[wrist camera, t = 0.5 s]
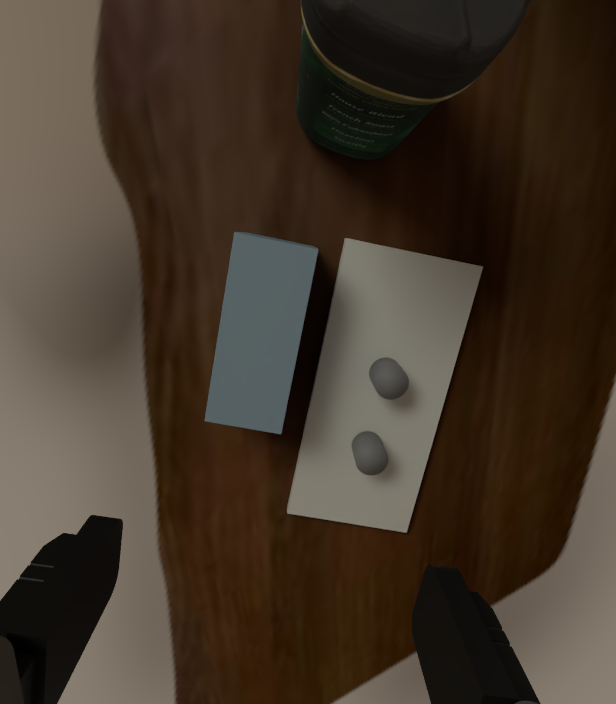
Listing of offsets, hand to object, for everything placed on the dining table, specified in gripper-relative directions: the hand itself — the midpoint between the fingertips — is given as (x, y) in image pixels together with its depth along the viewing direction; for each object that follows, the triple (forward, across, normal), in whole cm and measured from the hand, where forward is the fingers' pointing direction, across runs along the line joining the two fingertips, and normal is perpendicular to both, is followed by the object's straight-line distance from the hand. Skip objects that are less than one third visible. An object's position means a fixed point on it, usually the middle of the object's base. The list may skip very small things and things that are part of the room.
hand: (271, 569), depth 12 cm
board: (+24, -7, +3) cm, 25 cm away
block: (+24, +2, -1) cm, 24 cm away
